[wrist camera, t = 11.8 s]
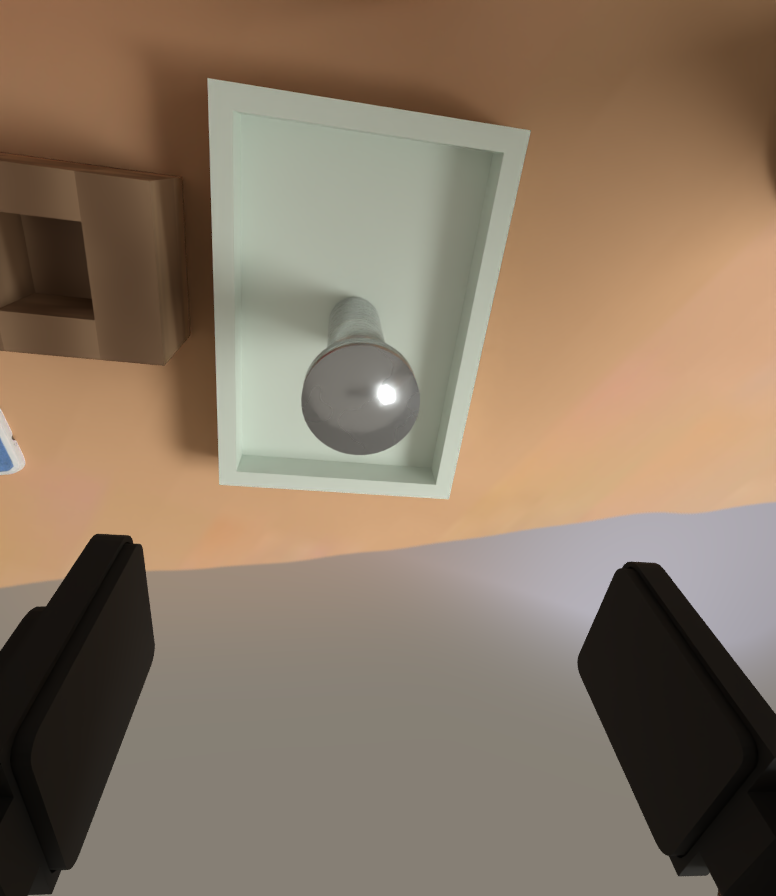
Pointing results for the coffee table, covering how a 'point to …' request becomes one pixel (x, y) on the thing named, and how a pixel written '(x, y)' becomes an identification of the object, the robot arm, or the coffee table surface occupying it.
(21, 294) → the hitch block
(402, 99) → the coffee table surface
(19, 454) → the tablet computer
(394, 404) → the pin
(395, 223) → the tray
